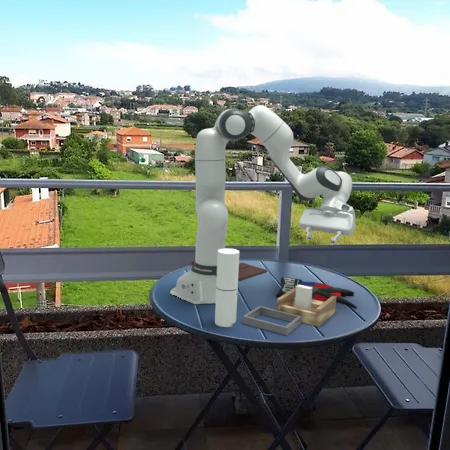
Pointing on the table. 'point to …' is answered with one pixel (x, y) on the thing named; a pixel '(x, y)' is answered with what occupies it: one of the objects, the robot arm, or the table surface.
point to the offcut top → (314, 303)
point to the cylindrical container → (226, 287)
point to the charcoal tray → (284, 330)
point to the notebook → (248, 271)
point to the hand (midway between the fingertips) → (320, 240)
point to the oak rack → (308, 317)
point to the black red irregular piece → (317, 290)
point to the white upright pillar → (303, 297)
